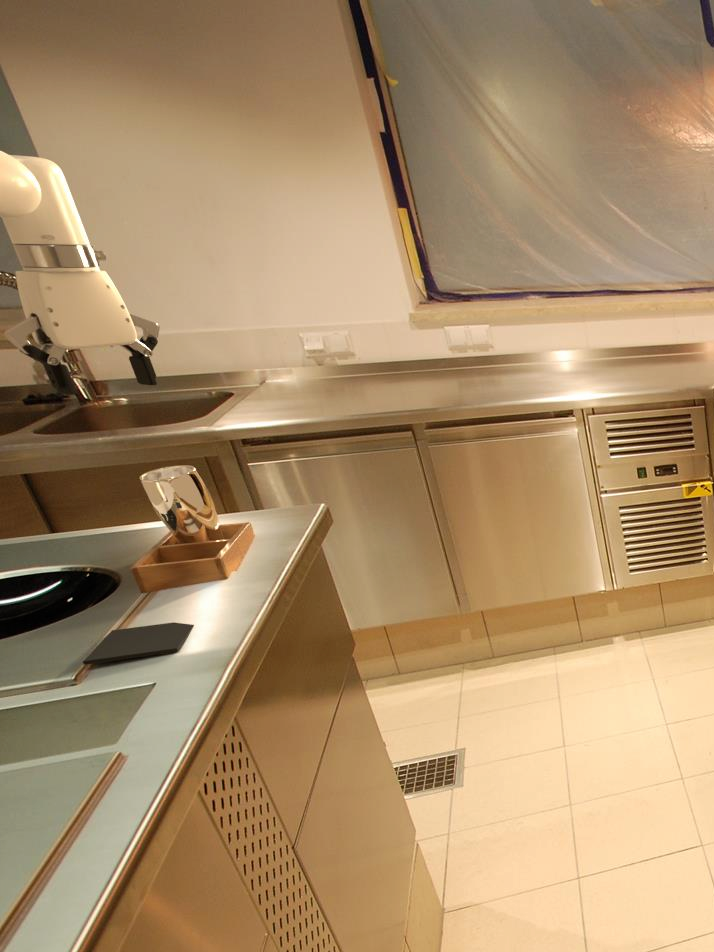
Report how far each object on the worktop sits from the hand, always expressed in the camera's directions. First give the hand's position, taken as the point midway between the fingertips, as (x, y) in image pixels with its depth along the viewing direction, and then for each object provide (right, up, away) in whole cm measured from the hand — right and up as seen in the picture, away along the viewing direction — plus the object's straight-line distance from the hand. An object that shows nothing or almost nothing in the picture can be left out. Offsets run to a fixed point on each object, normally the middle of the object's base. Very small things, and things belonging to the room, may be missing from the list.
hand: (109, 389), depth 121 cm
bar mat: (+18, -37, -14) cm, 43 cm away
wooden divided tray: (+7, -26, +8) cm, 28 cm away
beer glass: (+5, -24, +12) cm, 28 cm away
